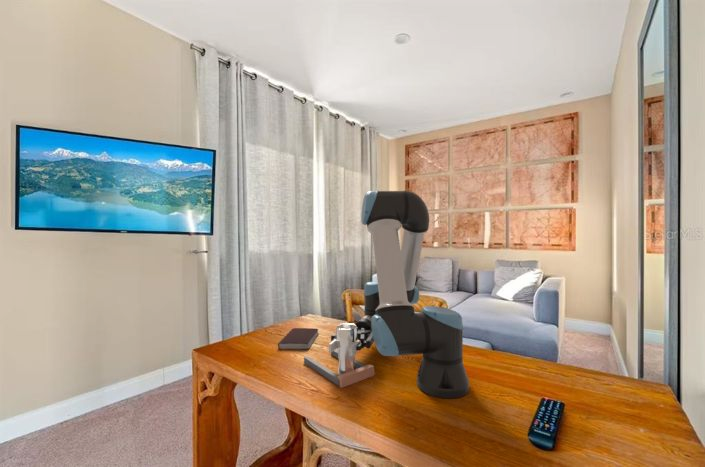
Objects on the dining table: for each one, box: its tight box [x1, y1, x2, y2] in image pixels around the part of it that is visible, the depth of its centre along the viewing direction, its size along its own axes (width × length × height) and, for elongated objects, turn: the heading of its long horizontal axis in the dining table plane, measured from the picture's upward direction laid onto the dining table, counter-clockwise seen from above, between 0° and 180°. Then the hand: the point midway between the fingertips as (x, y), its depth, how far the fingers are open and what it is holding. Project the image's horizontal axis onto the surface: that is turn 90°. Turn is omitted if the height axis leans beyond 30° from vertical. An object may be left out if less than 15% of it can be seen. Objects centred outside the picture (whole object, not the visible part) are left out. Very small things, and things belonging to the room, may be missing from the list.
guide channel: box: [303, 348, 375, 389], centre depth 110 cm, size 23×13×3 cm, turn 38°
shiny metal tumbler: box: [335, 322, 358, 375], centre depth 105 cm, size 7×7×15 cm
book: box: [277, 327, 319, 351], centre depth 137 cm, size 12×19×3 cm, turn 173°
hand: (340, 350), depth 101 cm, fingers closed on shiny metal tumbler, 7 cm apart
